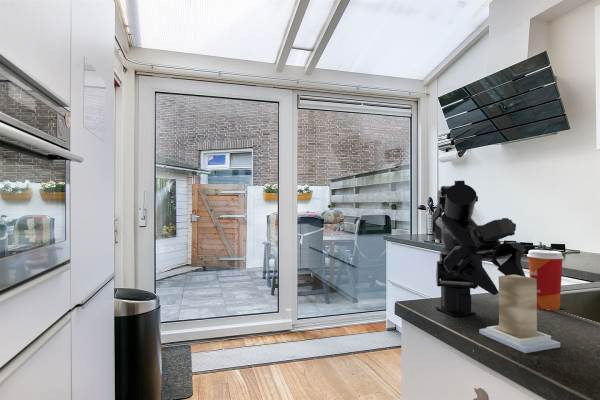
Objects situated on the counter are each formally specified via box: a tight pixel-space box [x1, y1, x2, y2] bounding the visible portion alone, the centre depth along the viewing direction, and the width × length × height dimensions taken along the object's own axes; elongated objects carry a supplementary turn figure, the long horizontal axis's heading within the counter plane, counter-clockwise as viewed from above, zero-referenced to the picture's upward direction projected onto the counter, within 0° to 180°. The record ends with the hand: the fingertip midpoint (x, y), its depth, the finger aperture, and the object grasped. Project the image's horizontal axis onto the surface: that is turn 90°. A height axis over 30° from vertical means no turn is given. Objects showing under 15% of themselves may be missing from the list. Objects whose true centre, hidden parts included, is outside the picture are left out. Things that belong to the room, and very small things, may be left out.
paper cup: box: [526, 249, 565, 312], centre depth 88 cm, size 8×8×14 cm
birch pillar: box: [498, 275, 538, 339], centre depth 67 cm, size 4×4×11 cm
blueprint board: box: [478, 324, 561, 354], centre depth 67 cm, size 10×8×2 cm
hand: (512, 291), depth 68 cm, fingers open, 9 cm apart
